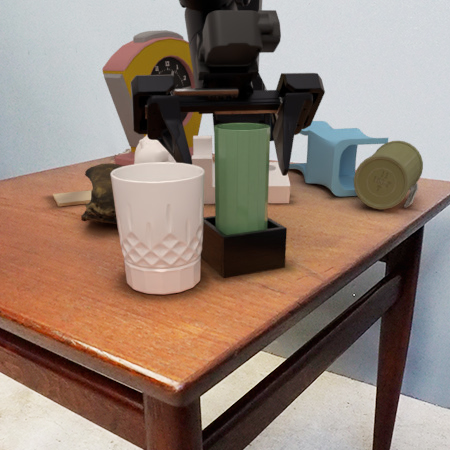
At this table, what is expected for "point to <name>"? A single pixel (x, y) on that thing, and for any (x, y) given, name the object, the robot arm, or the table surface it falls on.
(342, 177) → the blue step stool
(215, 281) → the table surface
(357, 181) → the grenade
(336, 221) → the table surface
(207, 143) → the bracket
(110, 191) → the seashell
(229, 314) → the table surface
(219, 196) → the green cylinder
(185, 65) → the yellow mantel clock
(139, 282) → the white cup
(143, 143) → the cat figurine
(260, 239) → the black open box
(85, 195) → the coaster
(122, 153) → the soap
